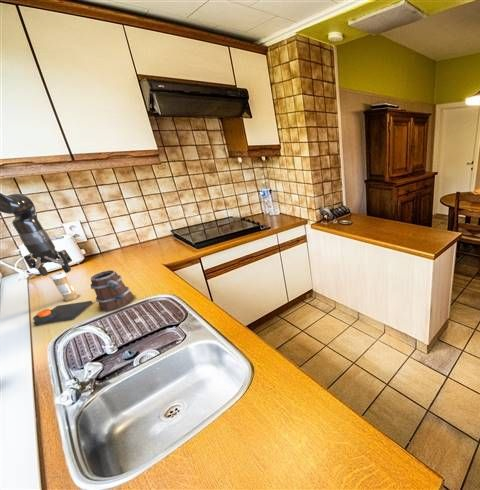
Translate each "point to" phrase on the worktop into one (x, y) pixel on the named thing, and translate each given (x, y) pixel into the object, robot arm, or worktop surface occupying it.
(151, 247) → the worktop surface
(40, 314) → the tare button
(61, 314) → the scale
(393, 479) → the worktop surface
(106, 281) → the mug
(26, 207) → the robot arm
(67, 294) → the sprinkles bottle
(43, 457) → the worktop surface
